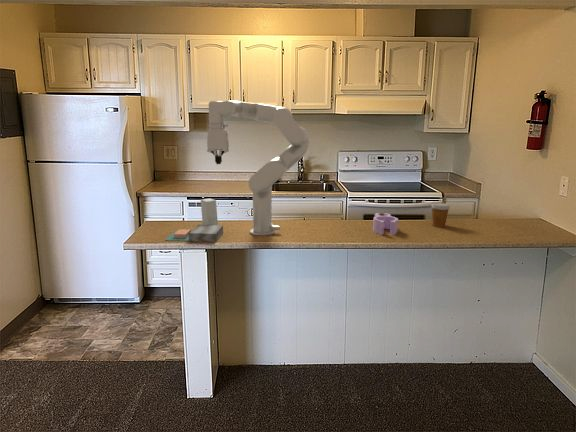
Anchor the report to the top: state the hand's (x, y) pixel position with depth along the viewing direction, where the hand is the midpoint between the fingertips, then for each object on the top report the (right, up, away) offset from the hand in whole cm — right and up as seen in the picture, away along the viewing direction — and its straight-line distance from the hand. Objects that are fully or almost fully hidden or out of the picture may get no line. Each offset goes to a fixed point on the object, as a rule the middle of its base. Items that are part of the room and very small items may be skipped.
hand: (218, 163), depth 226 cm
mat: (-18, -36, -2) cm, 41 cm away
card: (-18, -34, -2) cm, 38 cm away
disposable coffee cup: (+117, -32, +19) cm, 123 cm away
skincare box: (-7, -32, +17) cm, 37 cm away
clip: (+86, -34, +11) cm, 93 cm away
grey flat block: (-5, -37, -3) cm, 37 cm away
